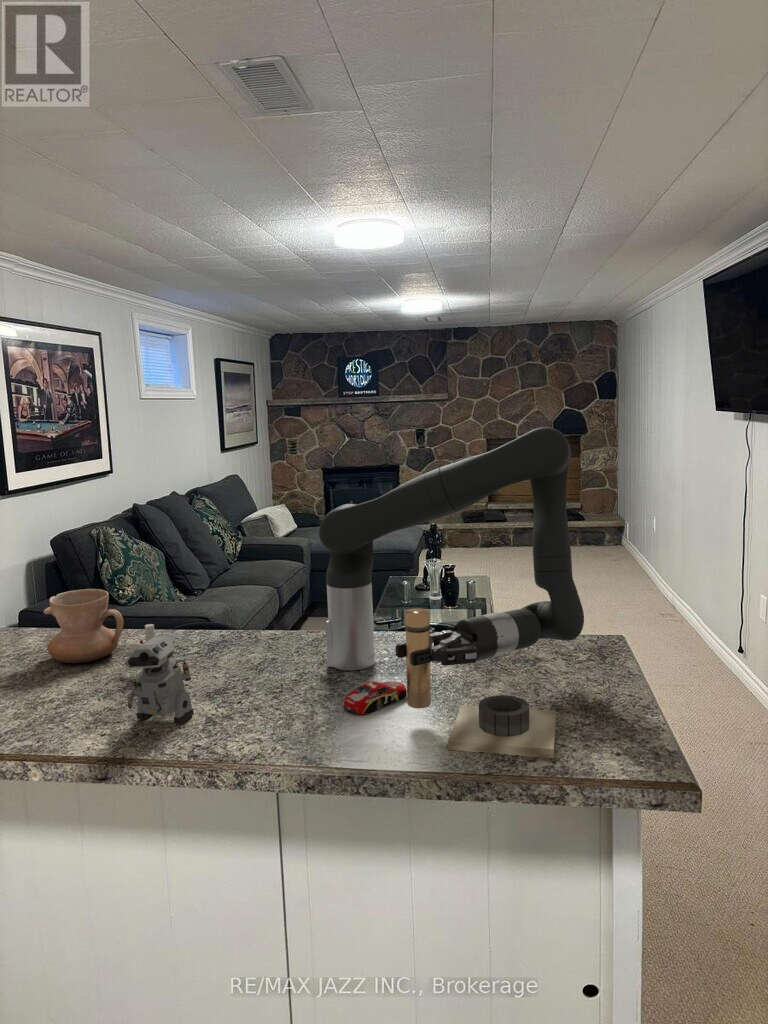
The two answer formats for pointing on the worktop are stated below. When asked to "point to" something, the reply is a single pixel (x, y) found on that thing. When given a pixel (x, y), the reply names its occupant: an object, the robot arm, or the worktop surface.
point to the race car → (374, 696)
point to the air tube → (421, 674)
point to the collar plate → (504, 728)
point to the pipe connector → (149, 634)
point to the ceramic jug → (83, 626)
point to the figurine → (159, 681)
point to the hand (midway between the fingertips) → (404, 655)
